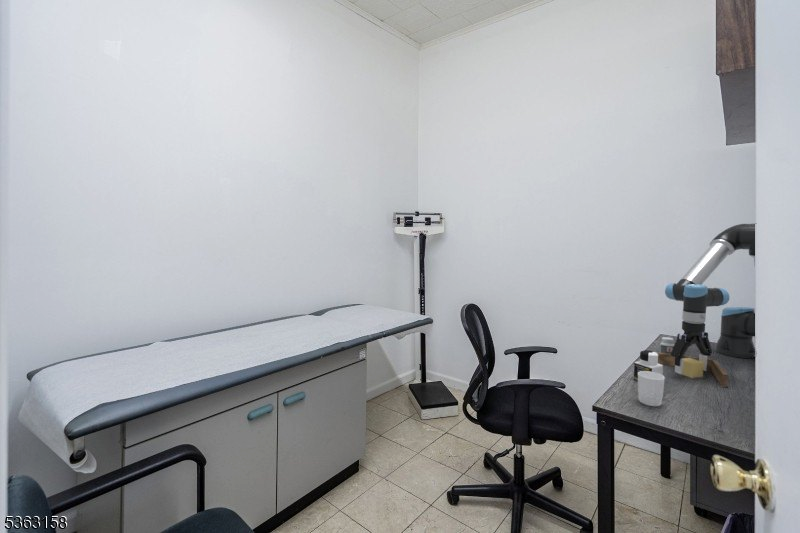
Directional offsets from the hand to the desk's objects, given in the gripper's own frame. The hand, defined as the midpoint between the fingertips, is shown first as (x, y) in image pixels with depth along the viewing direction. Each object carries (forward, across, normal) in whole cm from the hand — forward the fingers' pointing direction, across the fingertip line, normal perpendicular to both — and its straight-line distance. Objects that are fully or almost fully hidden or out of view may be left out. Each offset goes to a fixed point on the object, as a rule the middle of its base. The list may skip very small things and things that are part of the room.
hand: (690, 371), depth 154 cm
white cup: (+2, -39, -15) cm, 42 cm away
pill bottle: (+2, +10, +18) cm, 21 cm away
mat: (+2, 0, 0) cm, 2 cm away
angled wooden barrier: (+2, 0, +1) cm, 2 cm away
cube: (+1, 0, 0) cm, 1 cm away
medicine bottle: (+2, -22, +1) cm, 22 cm away
